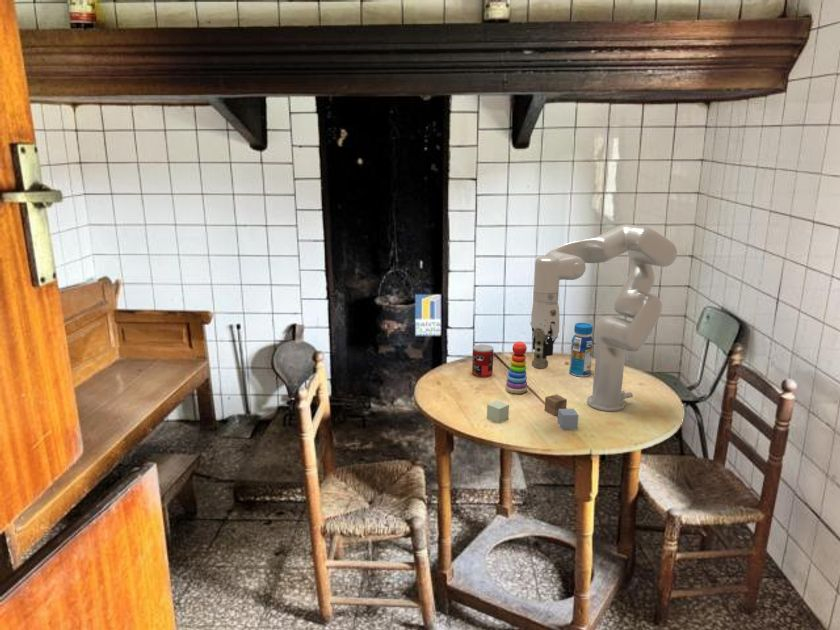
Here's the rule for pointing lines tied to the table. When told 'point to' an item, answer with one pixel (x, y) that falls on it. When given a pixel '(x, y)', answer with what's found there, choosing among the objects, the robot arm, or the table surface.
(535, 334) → the grenade model
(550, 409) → the walnut cube
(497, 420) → the sage cube
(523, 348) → the stacking toy
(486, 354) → the canned food
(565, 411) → the slate blue cube
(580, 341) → the beverage bottle
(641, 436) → the table surface
